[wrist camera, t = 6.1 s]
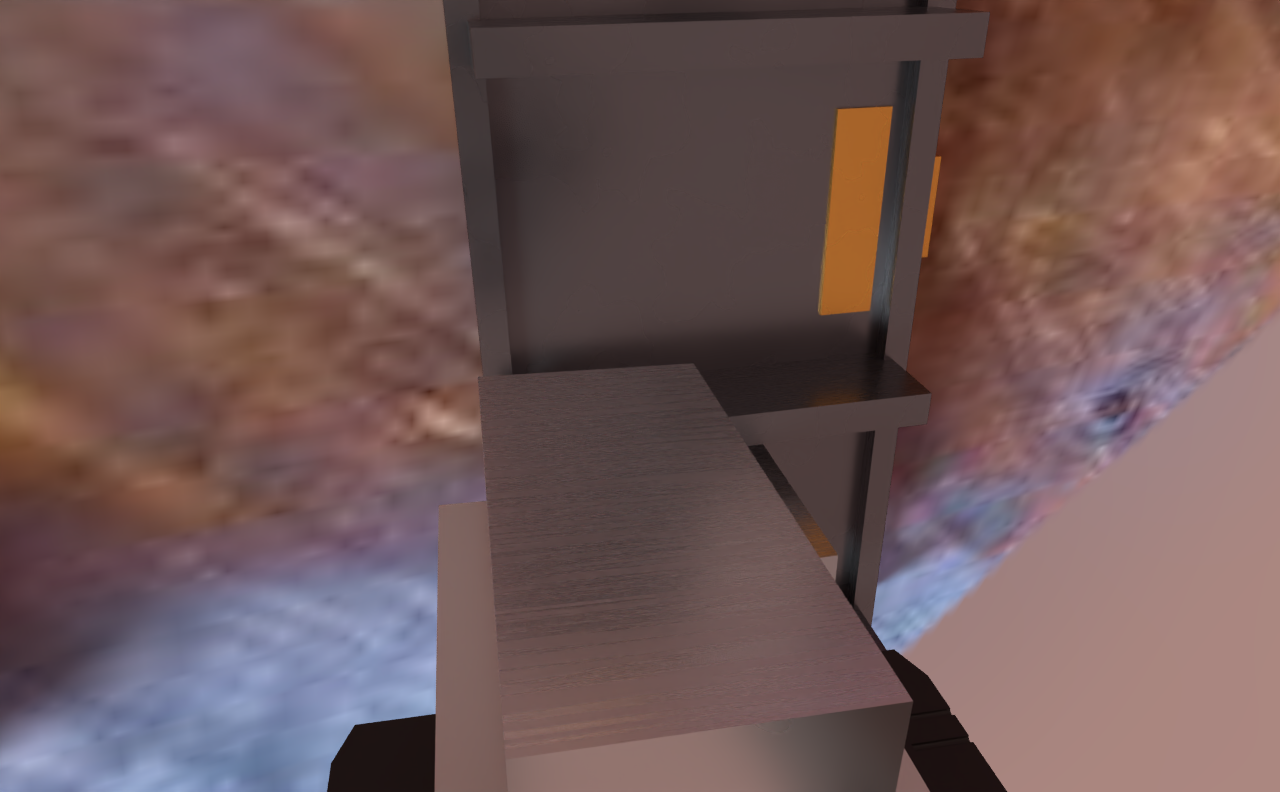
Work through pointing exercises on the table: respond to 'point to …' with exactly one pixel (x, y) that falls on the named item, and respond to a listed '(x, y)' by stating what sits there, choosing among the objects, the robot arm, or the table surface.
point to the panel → (666, 602)
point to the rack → (718, 217)
